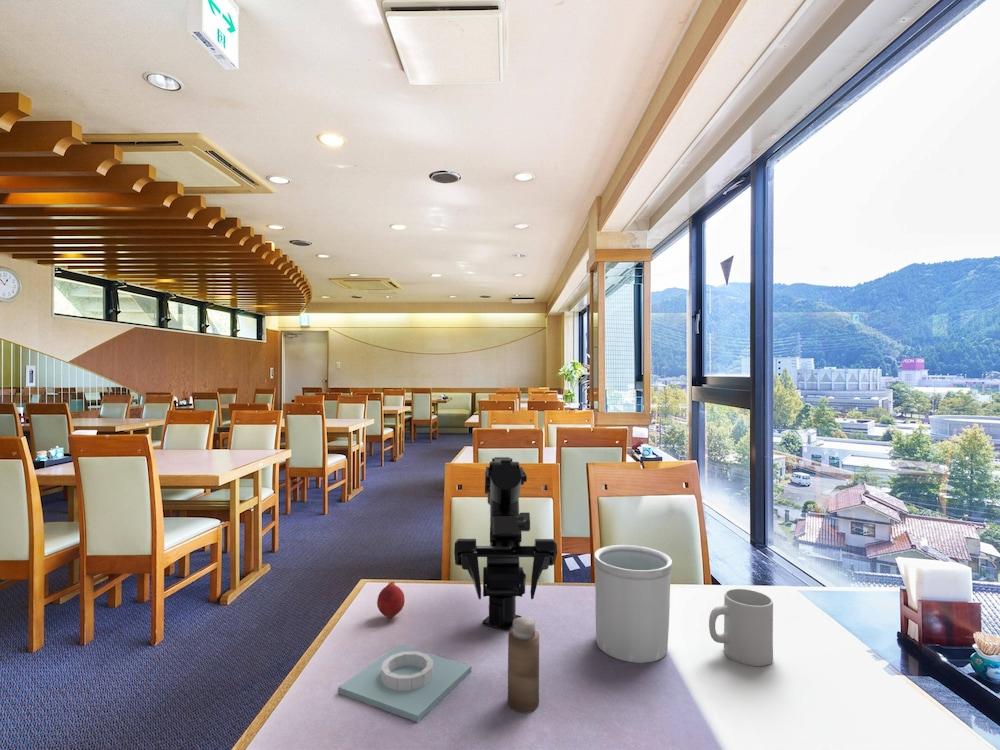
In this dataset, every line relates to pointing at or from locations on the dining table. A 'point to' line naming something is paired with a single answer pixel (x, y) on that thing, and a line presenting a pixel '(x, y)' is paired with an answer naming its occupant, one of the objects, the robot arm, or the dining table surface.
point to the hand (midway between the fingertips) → (506, 598)
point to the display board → (405, 698)
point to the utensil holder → (632, 602)
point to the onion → (390, 600)
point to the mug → (745, 627)
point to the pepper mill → (523, 665)
